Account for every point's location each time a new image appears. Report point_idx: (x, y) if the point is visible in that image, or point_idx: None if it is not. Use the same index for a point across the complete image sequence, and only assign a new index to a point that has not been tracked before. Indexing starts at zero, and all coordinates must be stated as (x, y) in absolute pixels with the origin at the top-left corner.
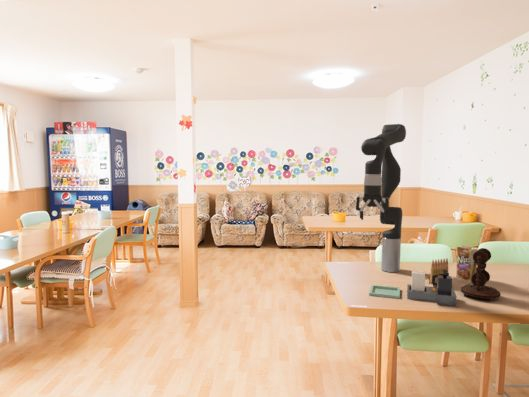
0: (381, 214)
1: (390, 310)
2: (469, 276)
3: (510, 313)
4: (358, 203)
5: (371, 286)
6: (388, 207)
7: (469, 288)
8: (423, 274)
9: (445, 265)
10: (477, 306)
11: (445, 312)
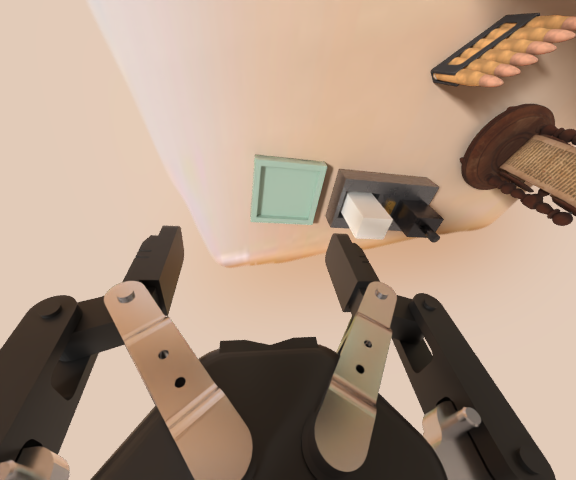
0: (341, 297)
1: (286, 261)
2: None
3: (471, 227)
4: (59, 432)
5: (255, 174)
6: (426, 359)
7: (483, 164)
8: (379, 238)
9: (555, 27)
10: (442, 210)
11: (371, 248)
